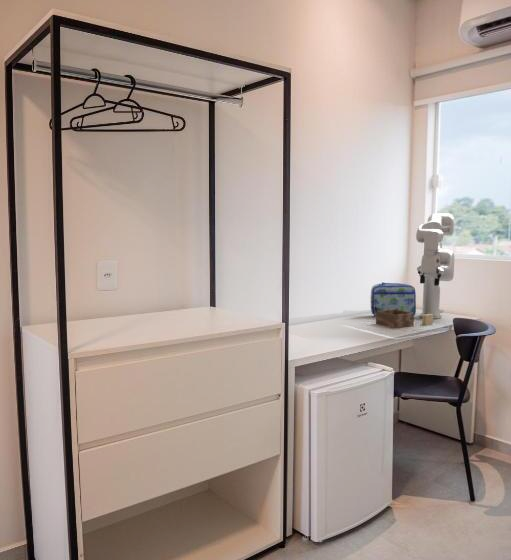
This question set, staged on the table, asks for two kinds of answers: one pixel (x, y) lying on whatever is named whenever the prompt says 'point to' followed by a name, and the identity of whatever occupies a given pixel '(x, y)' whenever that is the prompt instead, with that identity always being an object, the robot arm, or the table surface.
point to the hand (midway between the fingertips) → (429, 284)
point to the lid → (427, 319)
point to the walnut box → (395, 318)
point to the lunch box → (393, 297)
